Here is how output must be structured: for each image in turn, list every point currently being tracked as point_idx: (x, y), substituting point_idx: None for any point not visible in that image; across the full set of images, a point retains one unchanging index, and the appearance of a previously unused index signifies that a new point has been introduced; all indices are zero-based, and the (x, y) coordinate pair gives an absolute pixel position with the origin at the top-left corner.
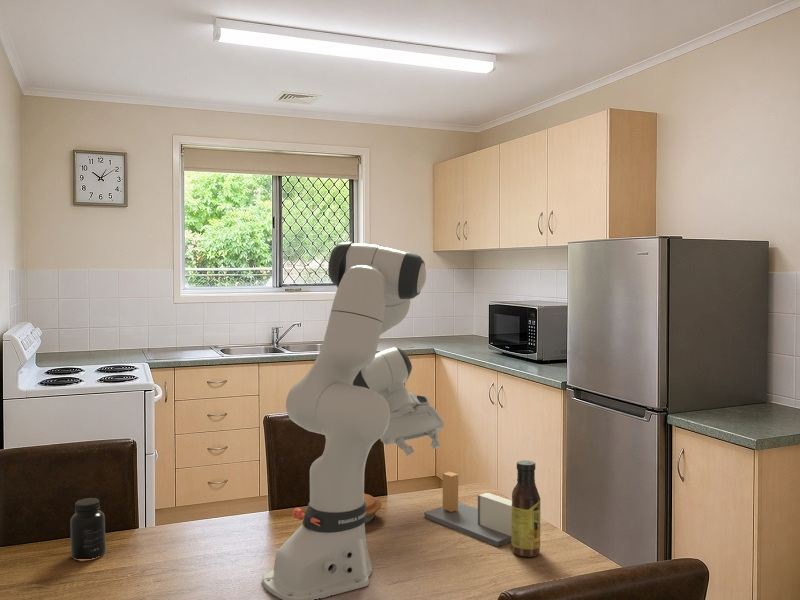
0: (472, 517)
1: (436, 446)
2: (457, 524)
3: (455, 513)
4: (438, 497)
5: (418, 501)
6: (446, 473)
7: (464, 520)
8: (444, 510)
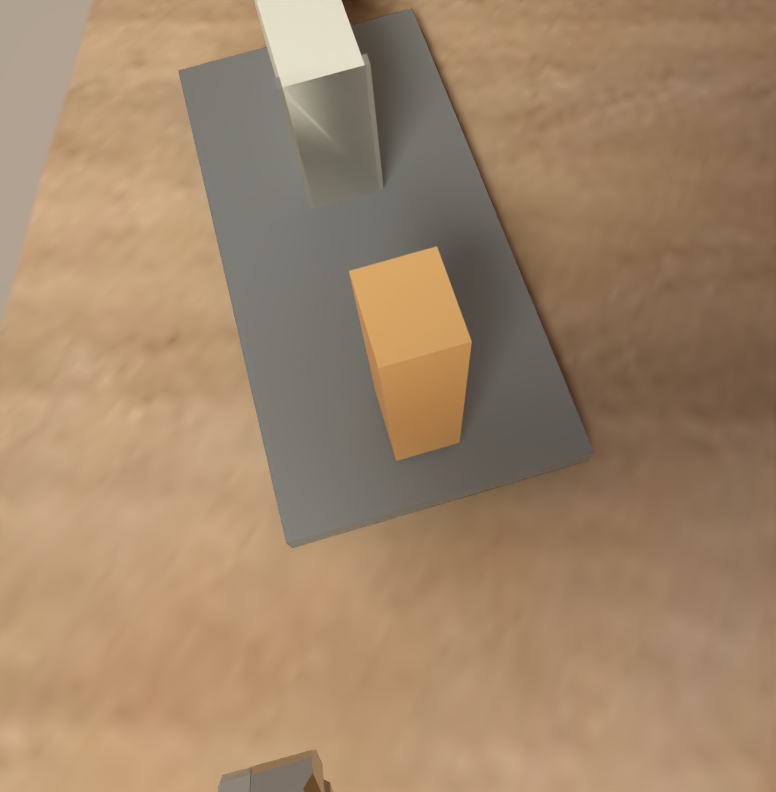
0: None
1: (308, 754)
2: (486, 221)
3: None
4: None
5: (501, 773)
6: (436, 329)
7: None
8: None
